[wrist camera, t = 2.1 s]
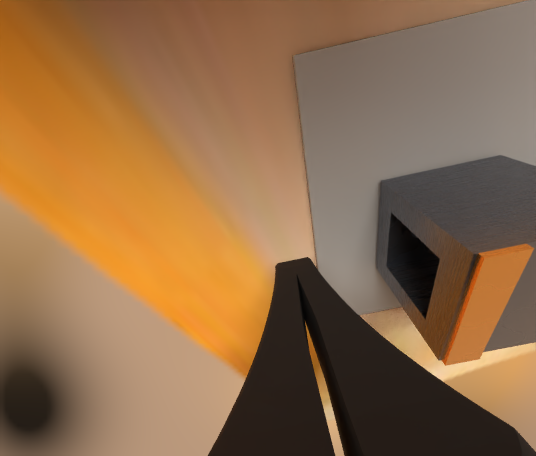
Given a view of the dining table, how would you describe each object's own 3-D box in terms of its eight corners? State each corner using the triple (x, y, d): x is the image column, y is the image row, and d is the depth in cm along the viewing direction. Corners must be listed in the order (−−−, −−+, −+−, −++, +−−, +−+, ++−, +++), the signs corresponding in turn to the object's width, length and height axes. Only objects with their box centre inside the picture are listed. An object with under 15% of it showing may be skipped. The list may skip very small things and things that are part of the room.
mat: (862, -79, 8) (883, -84, 7) (612, 260, 15) (618, 264, 15) (292, 55, 8) (293, 55, 8) (323, 318, 16) (324, 322, 16)
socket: (500, 154, 10) (691, 216, 6) (470, 248, 13) (587, 338, 9) (380, 180, 10) (480, 259, 6) (375, 267, 13) (442, 365, 9)
